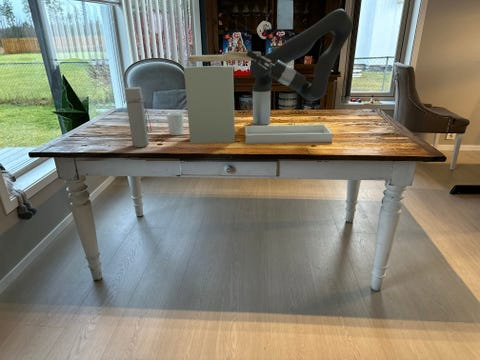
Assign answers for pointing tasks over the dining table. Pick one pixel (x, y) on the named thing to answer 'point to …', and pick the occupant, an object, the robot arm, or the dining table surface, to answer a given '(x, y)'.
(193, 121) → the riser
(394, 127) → the dining table surface
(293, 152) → the dining table surface
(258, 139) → the tray
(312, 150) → the dining table surface
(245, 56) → the beige long bar
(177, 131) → the white cup
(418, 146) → the dining table surface
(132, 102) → the water bottle
